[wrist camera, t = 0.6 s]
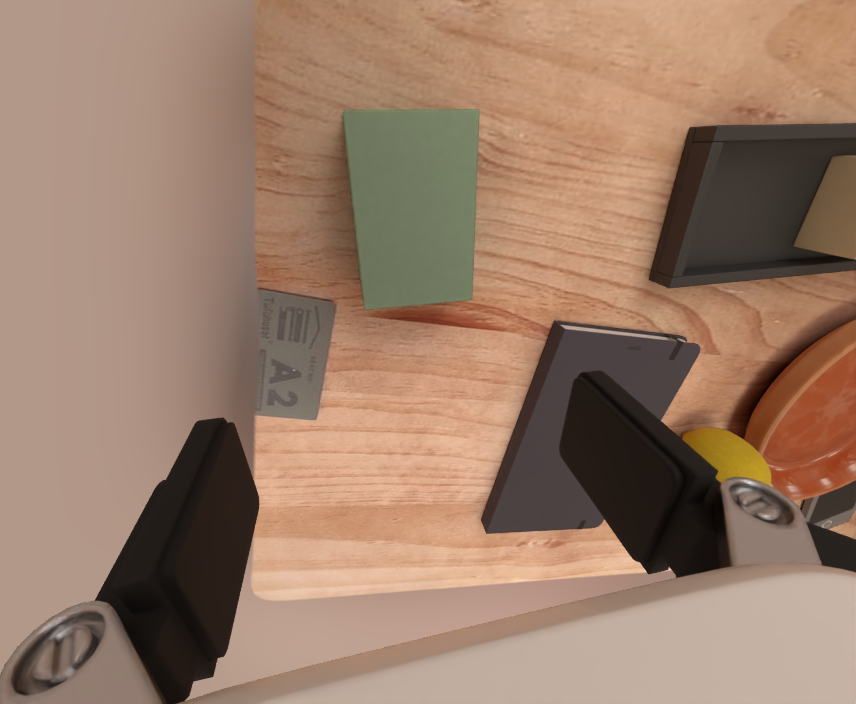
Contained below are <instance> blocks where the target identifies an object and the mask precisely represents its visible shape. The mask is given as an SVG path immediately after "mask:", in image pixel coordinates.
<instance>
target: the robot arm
mask: <svg viewBox="0 0 856 704" xmlns="http://www.w3.org/2000/svg"><path fill="white" fill-rule="evenodd" d="M559 452H560V455H561V458H562V459H563V461H564V462H565V464H566V465H567V466H568V468H569V469H570V471H571V472H572V474H573V475H574V476H575V478H576V479H577V481H578V482H579V483H580V485H581V486H582V488H583V489H584V491H585V492H586V493H587V495H588V496H589V498H590V499H591V501H592V502H593V503H594V505H595V506H596V508H597V509H598V511H599V512H600V513H601V515H602V516H603V518H604V519H605V520H606V522H607V523H608V525H609V526H610V528H611V529H612V530H613V532H614V533H615V535H616V536H617V538H618V539H619V540H620V542H621V543H622V545H623V546H624V548H625V549H626V550H627V552H628V553H629V555H630V556H631V557H632V558H633V559H634V560H635V561H637V562H640V563H641V564H642V566H643V567H644V569H645V570H646V571H647V573H648V574H652V573H657V572H661V571H665V570H668V568H669V567H670V568H671V570H672V571H673V572H674V573H675V574H676V578H674V579H670V580H665V581H661V582H657V583H652V584H648V585H644V586H639V587H635V588H631V589H627V590H622V591H618V592H614V593H610V594H605V595H601V596H597V597H593V598H588V599H584V600H580V601H576V602H571V603H567V604H563V605H559V606H554V607H550V608H546V609H542V610H538V611H534V612H529V613H525V614H521V615H517V616H513V617H509V618H504V619H500V620H496V621H492V622H488V623H484V624H479V625H476V626H471V627H467V628H463V629H459V630H455V631H450V632H446V633H442V634H438V635H434V636H430V637H426V638H422V639H418V640H413V641H410V642H406V643H401V644H398V645H393V646H389V647H385V648H381V649H377V650H373V651H369V652H365V653H361V654H357V655H353V656H348V657H344V658H340V659H337V660H332V661H328V662H324V663H320V664H316V665H312V666H308V667H304V668H300V669H297V670H293V671H289V672H286V673H282V674H278V675H274V676H270V677H267V678H263V679H259V680H256V681H251V682H248V683H244V684H240V685H237V686H233V687H229V688H225V689H222V690H219V691H215V692H212V693H209V694H206V695H203V696H200V697H197V698H193V699H190V700H187V701H185V700H186V699H187V698H188V697H189V695H190V692H191V688H192V684H193V681H198V680H202V679H206V678H210V677H213V675H214V671H215V667H216V662H217V659H218V658H220V657H224V655H225V654H226V652H227V649H228V645H229V640H230V636H231V632H232V627H233V623H234V618H235V614H236V609H237V605H238V600H239V596H240V591H241V587H242V582H243V578H244V573H245V569H246V565H247V560H248V556H249V551H250V547H251V542H252V538H253V533H254V529H255V524H256V520H257V515H258V511H259V496H258V492H257V489H256V486H255V483H254V480H253V477H252V474H251V471H250V468H249V466H248V462H247V460H246V457H245V453H244V450H243V448H242V445H241V442H240V439H239V436H238V433H237V430H236V427H235V424H234V423H232V422H230V423H227V421H226V420H225V419H224V418H216V419H207V420H201V421H197V422H196V423H195V425H194V427H193V429H192V431H191V432H190V434H189V436H188V439H187V440H186V442H185V444H184V446H183V448H182V450H181V452H180V454H179V456H178V458H177V460H176V461H175V463H174V465H173V467H172V469H171V471H170V473H169V475H168V477H167V479H166V480H163V481H162V482H160V483H159V484H158V485H157V487H156V488H155V489H154V491H153V493H152V495H151V497H150V499H149V501H148V503H147V504H146V506H145V508H144V510H143V512H142V514H141V515H140V517H139V519H138V521H137V523H136V525H135V527H134V529H133V530H132V532H131V534H130V536H129V538H128V540H127V542H126V544H125V545H124V547H123V549H122V551H121V553H120V555H119V556H118V558H117V560H116V562H115V564H114V566H113V568H112V569H111V571H110V573H109V575H108V577H107V579H106V581H105V582H104V584H103V586H102V588H101V590H100V592H99V594H98V596H97V597H96V599H95V601H90V602H83V603H80V604H78V605H75V606H72V607H69V608H67V609H65V610H63V611H62V612H60V613H58V614H57V615H55V616H53V617H51V618H50V619H48V620H47V621H46V622H44V623H43V624H42V625H40V626H39V627H38V628H37V629H35V630H34V631H33V632H32V633H31V634H30V635H29V636H28V637H27V638H26V639H25V640H24V641H23V642H22V643H21V644H20V645H19V646H18V647H17V648H16V650H15V651H14V652H13V654H12V655H11V657H10V658H9V660H8V661H7V662H6V664H5V665H4V668H3V670H2V672H1V674H0V704H856V540H855V539H853V538H850V537H847V536H844V535H842V534H839V533H836V532H833V531H831V530H828V529H825V528H822V527H820V526H817V525H814V524H811V523H809V522H806V521H805V518H804V515H803V514H802V512H801V510H800V509H799V507H798V506H797V505H796V504H795V503H794V502H793V501H792V500H791V499H790V498H789V497H787V496H786V495H784V494H783V493H782V492H780V491H779V490H777V489H775V488H773V487H771V486H770V485H768V484H765V483H763V482H760V481H758V480H755V479H750V478H746V477H731V478H727V479H725V480H724V481H723V482H722V483H721V482H719V481H718V480H717V479H716V478H715V477H716V475H717V473H718V470H717V469H716V468H714V467H713V466H712V465H711V464H710V463H709V462H707V461H706V460H705V459H704V458H703V457H702V456H701V455H699V454H698V453H697V452H696V451H695V450H694V449H692V448H691V447H690V446H689V445H688V444H687V443H686V442H684V441H683V440H682V439H681V438H680V437H679V436H677V435H676V434H675V433H674V432H673V431H672V430H671V429H669V428H668V427H667V426H666V425H665V424H664V423H662V422H661V421H660V420H659V419H658V418H657V417H656V416H654V415H653V414H652V413H651V412H650V411H649V410H647V409H646V408H645V407H644V406H643V405H642V404H641V403H639V402H638V401H637V400H636V399H635V398H634V397H632V396H631V395H630V394H629V393H628V392H627V391H626V390H624V389H623V388H622V387H621V386H620V385H619V384H617V383H616V382H615V381H614V380H613V379H612V378H611V377H609V376H608V375H607V374H606V373H605V372H603V371H602V370H596V371H588V372H582V373H580V374H579V375H578V378H575V379H574V381H573V384H572V389H571V394H570V398H569V403H568V407H567V412H566V417H565V421H564V426H563V430H562V435H561V440H560V444H559Z"/></svg>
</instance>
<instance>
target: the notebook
mask: <svg viewBox="0 0 856 704" xmlns="http://www.w3.org/2000/svg"><path fill="white" fill-rule="evenodd" d="M699 353H700V346H699V345H698V344H695V343H688V342H687V339H686V338H685V337H682V336H678V335H670V334H661V333H652V332H644V331H635V330H627V329H618V328H610V327H601V326H593V325H584V324H576V323H567V322H559V321H554V324H553V327H552V329H551V332H550V335H549V337H548V340H547V343H546V346H545V348H544V351H543V354H542V356H541V359H540V362H539V365H538V367H537V370H536V373H535V375H534V378H533V381H532V384H531V386H530V389H529V392H528V394H527V397H526V400H525V402H524V405H523V408H522V411H521V413H520V416H519V419H518V421H517V424H516V427H515V430H514V432H513V435H512V438H511V440H510V443H509V446H508V449H507V451H506V454H505V457H504V459H503V462H502V465H501V468H500V470H499V473H498V476H497V478H496V481H495V484H494V487H493V489H492V492H491V495H490V497H489V500H488V503H487V506H486V508H485V511H484V514H483V516H482V519H481V521H482V524H483V526H484V529H485V532H486V534H489V533H508V532H528V531H547V530H566V529H586V528H595V527H598V526H599V525H600V524H601V523H602V522H603V520H604V518H603V516H602V515H601V513H600V512H599V511H598V509H597V508H596V506H595V505H594V503H593V502H592V501H591V499H590V498H589V496H588V495H587V493H586V492H585V491H584V489H583V488H582V486H581V485H580V483H579V482H578V481H577V479H576V478H575V476H574V475H573V474H572V472H571V471H570V469H569V468H568V466H567V465H566V464H565V462H564V461H563V459H562V458H561V455H560V452H559V444H560V440H561V435H562V430H563V426H564V421H565V417H566V412H567V407H568V403H569V398H570V394H571V389H572V384H573V381H574V379H575V378H578V375H579V374H580V373H582V372H588V371H596V370H602V371H603V372H605V373H606V374H607V375H608V376H609V377H611V378H612V379H613V380H614V381H615V382H616V383H617V384H619V385H620V386H621V387H622V388H623V389H624V390H626V391H627V392H628V393H629V394H630V395H631V396H632V397H634V398H635V399H636V400H637V401H638V402H639V403H641V404H642V405H643V406H644V407H645V408H646V409H647V410H649V411H650V412H651V413H652V414H653V415H654V416H656V417H657V418H658V419H659V420H660V421H661V419H662V418H663V416H664V414H665V413H666V411H667V409H668V407H669V406H670V404H671V402H672V400H673V399H674V397H675V395H676V393H677V392H678V390H679V388H680V386H681V385H682V383H683V381H684V379H685V378H686V376H687V374H688V373H689V371H690V369H691V367H692V366H693V364H694V362H695V360H696V359H697V357H698V355H699Z"/></svg>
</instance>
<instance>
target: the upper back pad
mask: <svg viewBox="0 0 856 704" xmlns="http://www.w3.org/2000/svg"><path fill="white" fill-rule="evenodd" d="M793 246H794V247H798V248H803V249H807V250H812V251H817V252H821V253H826V254H831V255H835V256H840V257H845V258H850V259H854V260H856V155H843V156H833V157H832V158H831V161H830V163H829V165H828V167H827V170H826V172H825V174H824V176H823V179H822V181H821V183H820V186H819V188H818V190H817V192H816V195H815V197H814V199H813V201H812V204H811V206H810V208H809V211H808V213H807V215H806V217H805V220H804V222H803V224H802V226H801V229H800V231H799V233H798V236H797V238H796V240H795V242H794V245H793Z"/></svg>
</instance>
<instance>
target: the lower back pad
mask: <svg viewBox="0 0 856 704" xmlns="http://www.w3.org/2000/svg"><path fill="white" fill-rule="evenodd" d="M342 119H343V128H344V137H345V146H346V155H347V164H348V173H349V182H350V191H351V200H352V209H353V218H354V227H355V236H356V245H357V254H358V263H359V272H360V281H361V289H362V296H363V303H364V309H365V310H373V309H384V308H394V307H405V306H415V305H426V304H437V303H447V302H458V301H468V300H472V295H473V269H474V242H475V216H476V189H477V162H478V136H479V110H478V109H454V110H344V111H343V118H342Z"/></svg>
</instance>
